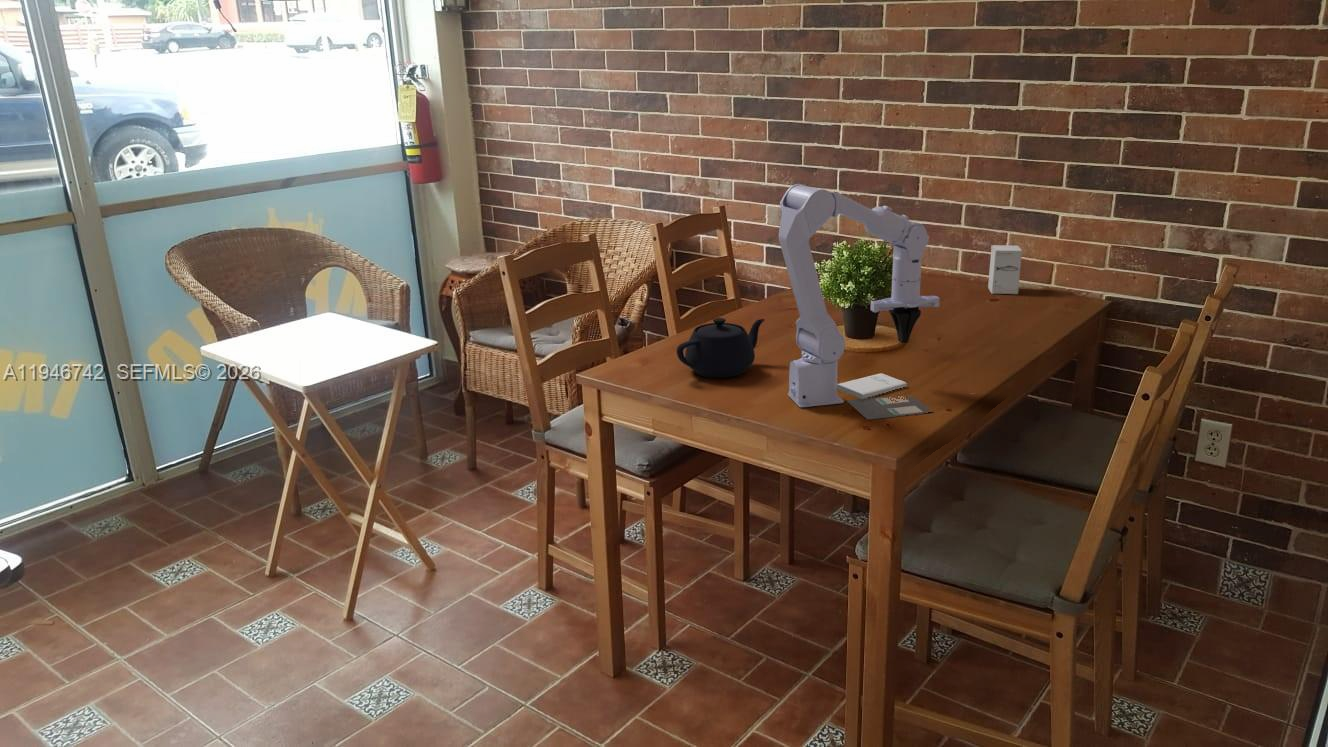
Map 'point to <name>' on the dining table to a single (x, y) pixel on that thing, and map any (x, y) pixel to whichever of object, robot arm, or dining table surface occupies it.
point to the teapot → (720, 349)
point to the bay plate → (888, 407)
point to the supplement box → (1004, 269)
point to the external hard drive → (871, 385)
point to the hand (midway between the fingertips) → (903, 341)
